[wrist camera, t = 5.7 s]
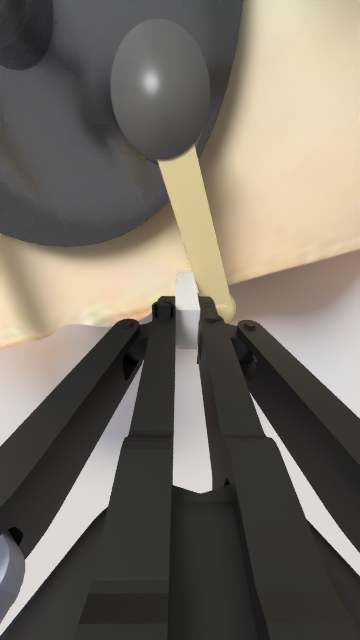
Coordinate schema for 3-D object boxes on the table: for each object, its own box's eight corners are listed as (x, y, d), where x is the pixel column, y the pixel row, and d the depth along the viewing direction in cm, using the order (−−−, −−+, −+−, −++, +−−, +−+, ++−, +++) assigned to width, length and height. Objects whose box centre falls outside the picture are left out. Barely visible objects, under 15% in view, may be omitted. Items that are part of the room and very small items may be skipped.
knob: (116, 90, 14) (88, 47, 10) (189, 53, 13) (193, -13, 9) (193, 312, 22) (196, 340, 18) (240, 298, 22) (255, 324, 17)
